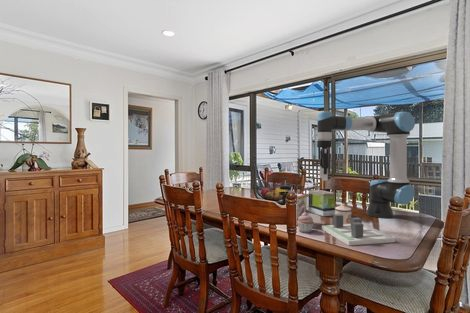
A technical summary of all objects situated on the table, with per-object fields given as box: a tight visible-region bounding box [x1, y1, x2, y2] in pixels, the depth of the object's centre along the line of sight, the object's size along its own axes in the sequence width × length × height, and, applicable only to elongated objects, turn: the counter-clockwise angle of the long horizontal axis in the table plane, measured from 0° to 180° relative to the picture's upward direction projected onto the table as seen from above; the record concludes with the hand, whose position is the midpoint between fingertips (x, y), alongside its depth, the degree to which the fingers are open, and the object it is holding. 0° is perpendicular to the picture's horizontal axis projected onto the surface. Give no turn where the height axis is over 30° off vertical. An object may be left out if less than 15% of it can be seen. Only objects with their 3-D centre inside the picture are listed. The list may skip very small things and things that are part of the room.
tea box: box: [308, 189, 336, 217], centre depth 179 cm, size 15×10×15 cm, turn 23°
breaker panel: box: [321, 223, 396, 246], centre depth 135 cm, size 24×24×2 cm
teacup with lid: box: [335, 203, 353, 224], centre depth 155 cm, size 12×9×12 cm
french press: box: [278, 176, 293, 205], centre depth 188 cm, size 12×9×23 cm
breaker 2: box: [351, 222, 364, 237], centre depth 126 cm, size 4×3×6 cm
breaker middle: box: [351, 216, 363, 228], centre depth 135 cm, size 4×3×6 cm
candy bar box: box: [296, 193, 308, 220], centre depth 155 cm, size 11×5×16 cm, turn 135°
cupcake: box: [296, 211, 315, 234], centre depth 141 cm, size 9×9×10 cm
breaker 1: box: [332, 214, 343, 227], centre depth 141 cm, size 4×3×6 cm
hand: (323, 179), depth 147 cm, fingers open, 13 cm apart
